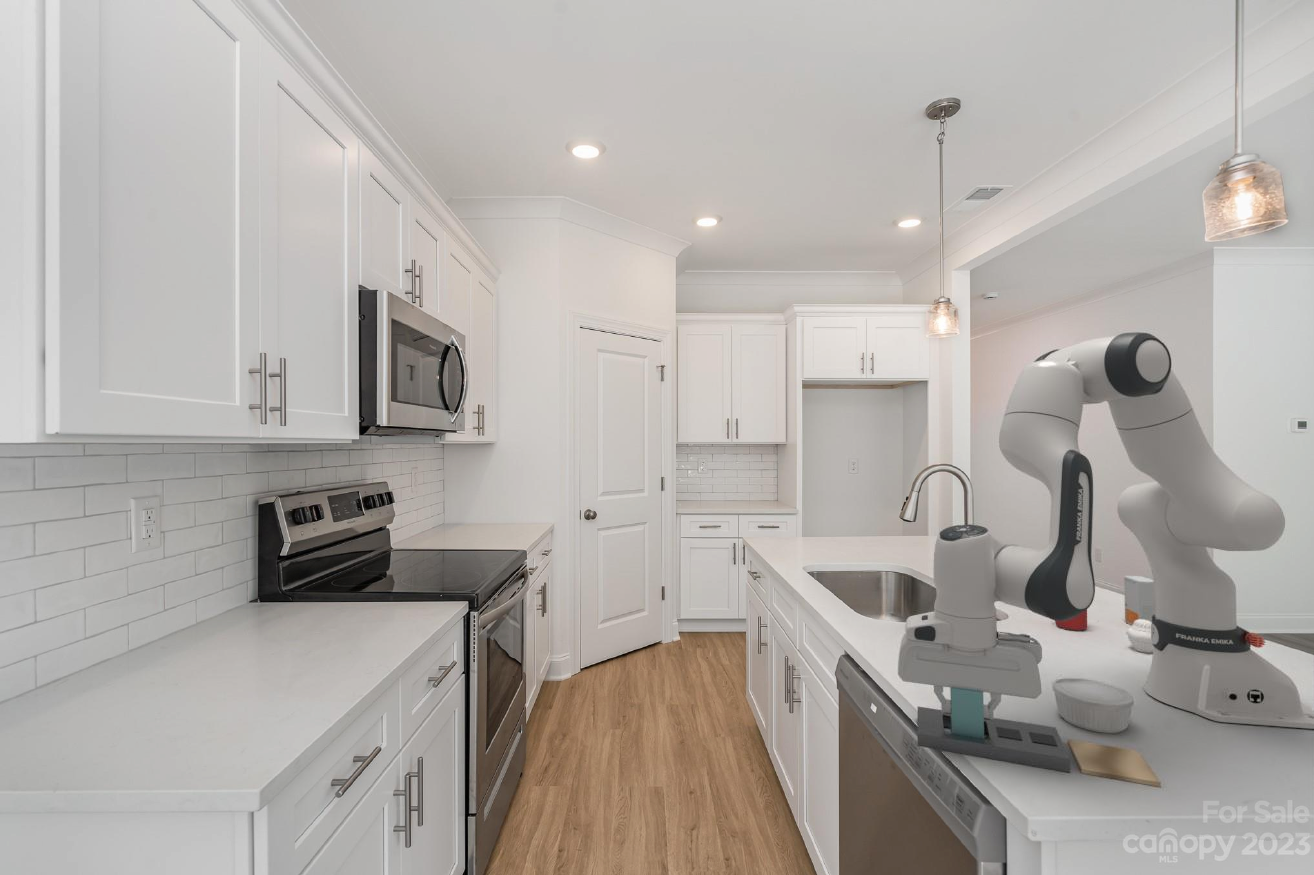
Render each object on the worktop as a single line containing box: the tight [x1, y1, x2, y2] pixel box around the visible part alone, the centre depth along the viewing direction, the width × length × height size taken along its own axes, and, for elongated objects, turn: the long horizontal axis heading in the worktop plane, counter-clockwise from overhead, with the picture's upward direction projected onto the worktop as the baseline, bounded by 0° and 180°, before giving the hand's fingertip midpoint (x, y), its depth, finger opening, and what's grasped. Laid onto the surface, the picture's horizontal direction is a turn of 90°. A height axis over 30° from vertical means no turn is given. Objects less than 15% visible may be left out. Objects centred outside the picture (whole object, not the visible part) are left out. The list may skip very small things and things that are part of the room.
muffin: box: [1125, 619, 1154, 654], centre depth 133 cm, size 6×6×7 cm
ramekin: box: [1051, 677, 1135, 734], centre depth 101 cm, size 11×11×5 cm
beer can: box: [1054, 609, 1088, 632], centre depth 150 cm, size 7×7×12 cm
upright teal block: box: [949, 687, 985, 739], centre depth 96 cm, size 4×4×8 cm
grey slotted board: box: [917, 706, 1071, 774], centre depth 94 cm, size 20×10×2 cm, turn 67°
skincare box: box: [1123, 575, 1155, 626], centre depth 150 cm, size 6×4×12 cm
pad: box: [1066, 739, 1162, 788], centre depth 88 cm, size 9×9×1 cm
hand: (966, 715), depth 96 cm, fingers closed on upright teal block, 4 cm apart
